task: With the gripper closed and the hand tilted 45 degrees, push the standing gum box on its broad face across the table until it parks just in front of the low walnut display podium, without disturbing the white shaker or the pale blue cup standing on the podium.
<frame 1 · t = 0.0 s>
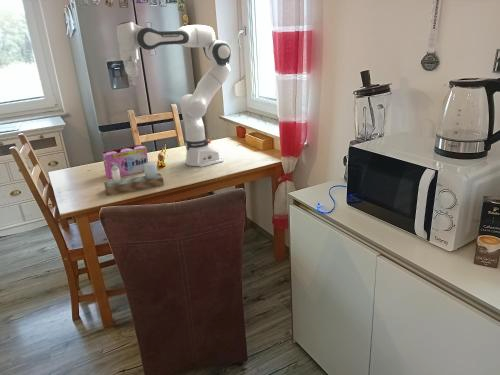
hand: (133, 84, 206), 48 cm above the table, tool pointing down, fingers open, 8 cm apart
gum box: (127, 173, 223), on the table
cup: (151, 176, 203), point 4 cm above the table, touching podium
shaker: (117, 182, 197), point 4 cm above the table, touching podium
podium: (134, 187, 202), on the table
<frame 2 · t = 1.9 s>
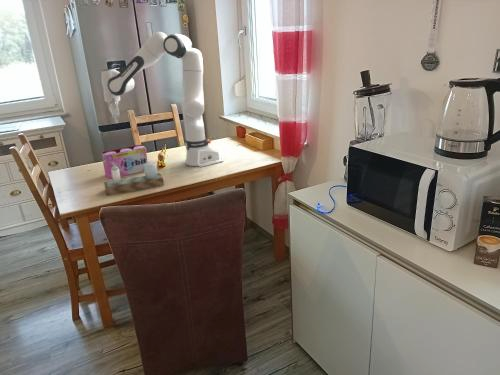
hand: (115, 121, 236), 24 cm above the table, tool pointing down, fingers open, 8 cm apart
nothing on the table moved.
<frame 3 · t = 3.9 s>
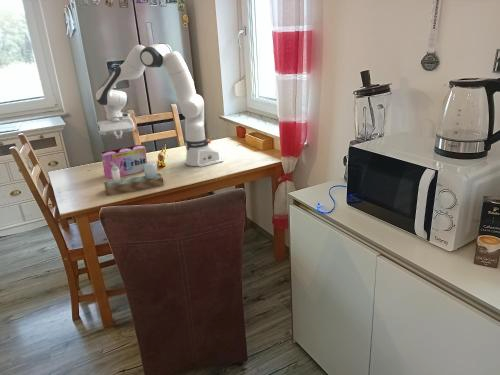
hand: (119, 138, 234), 15 cm above the table, tool tilted 45°, fingers closed
nothing on the table moved.
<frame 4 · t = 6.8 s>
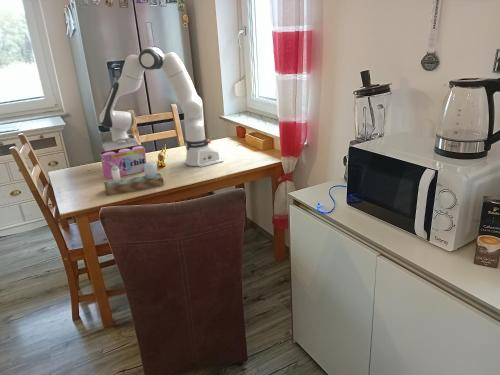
hand: (125, 161, 225), 5 cm above the table, tool tilted 45°, fingers closed
gum box: (126, 173, 223), on the table, touching gripper
everything else where it was.
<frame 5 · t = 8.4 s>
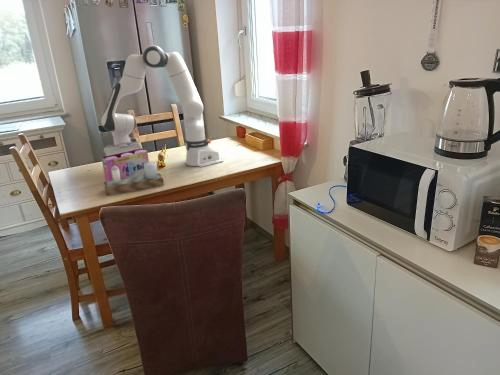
hand: (127, 165, 218), 5 cm above the table, tool tilted 45°, fingers closed
gum box: (128, 178, 215), on the table, touching gripper
everything else where it was.
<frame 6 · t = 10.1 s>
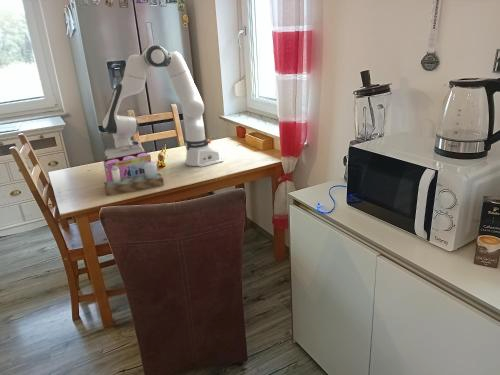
hand: (129, 169, 212), 5 cm above the table, tool tilted 45°, fingers closed
gum box: (130, 182, 210), on the table, touching gripper, podium
everything else where it was.
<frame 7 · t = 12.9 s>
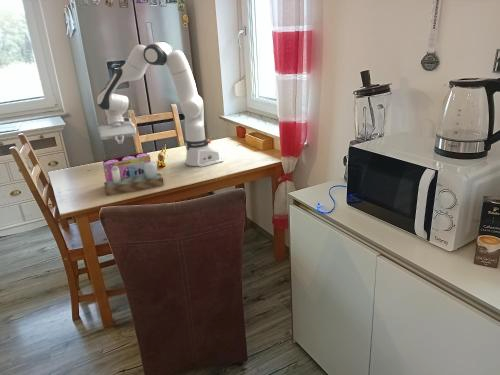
hand: (120, 143, 229), 14 cm above the table, tool tilted 45°, fingers closed
gum box: (130, 182, 210), on the table
everything else where it was.
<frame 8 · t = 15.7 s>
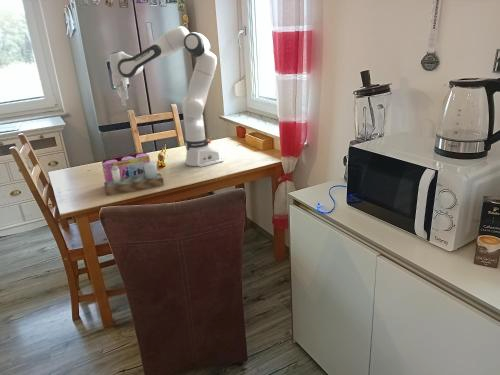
hand: (124, 105, 233), 33 cm above the table, tool pointing down, fingers closed
nothing on the table moved.
at the end: gum box inside the target area (1.0 cm from its centre), on the table; gum box tilted 0°; shaker moved 0.0 cm from its start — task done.
